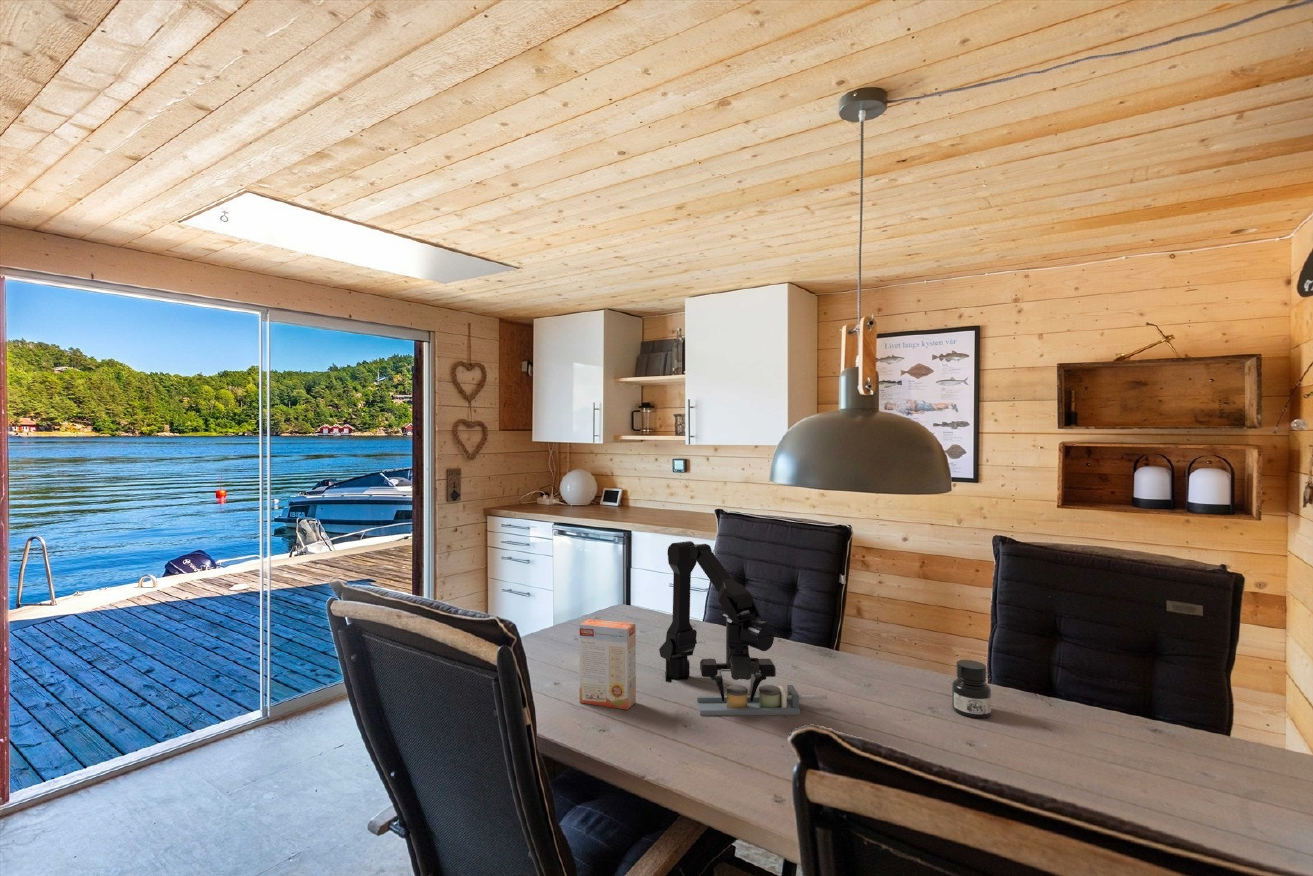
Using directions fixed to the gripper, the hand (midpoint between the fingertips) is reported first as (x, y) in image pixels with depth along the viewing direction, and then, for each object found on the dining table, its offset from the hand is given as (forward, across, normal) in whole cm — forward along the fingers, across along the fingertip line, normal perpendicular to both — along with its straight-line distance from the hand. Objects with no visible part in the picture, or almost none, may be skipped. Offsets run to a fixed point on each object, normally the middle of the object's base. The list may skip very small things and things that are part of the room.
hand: (737, 701), depth 159 cm
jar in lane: (+2, +8, 0) cm, 8 cm away
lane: (+2, +2, 0) cm, 3 cm away
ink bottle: (+2, +60, -2) cm, 60 cm away
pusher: (+1, +17, 0) cm, 17 cm away
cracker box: (+2, -34, +5) cm, 34 cm away
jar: (+2, 0, 0) cm, 2 cm away
